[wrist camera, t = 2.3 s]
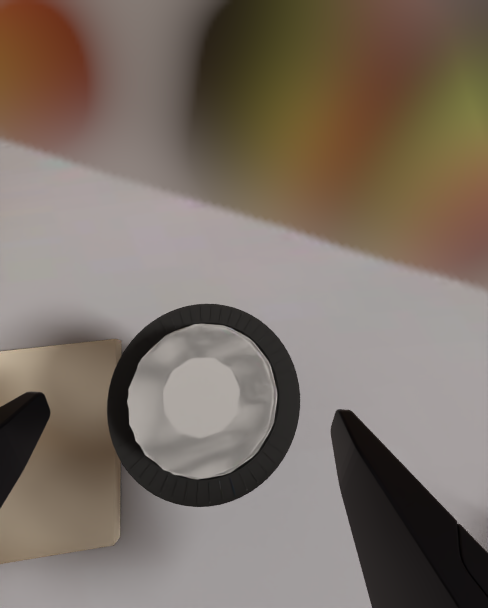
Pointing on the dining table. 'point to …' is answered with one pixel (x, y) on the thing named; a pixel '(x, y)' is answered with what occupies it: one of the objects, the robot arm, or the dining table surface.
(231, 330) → the push button
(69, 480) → the birch pad
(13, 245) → the dining table surface
